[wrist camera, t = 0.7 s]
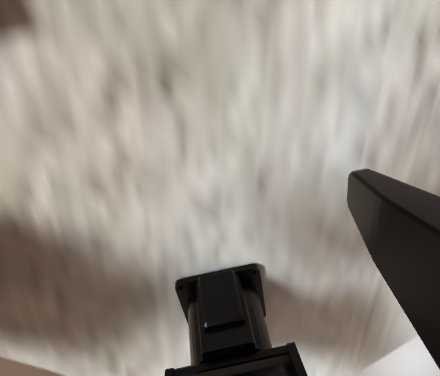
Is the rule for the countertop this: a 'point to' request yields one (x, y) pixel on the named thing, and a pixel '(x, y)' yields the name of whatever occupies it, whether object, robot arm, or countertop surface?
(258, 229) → the countertop surface
